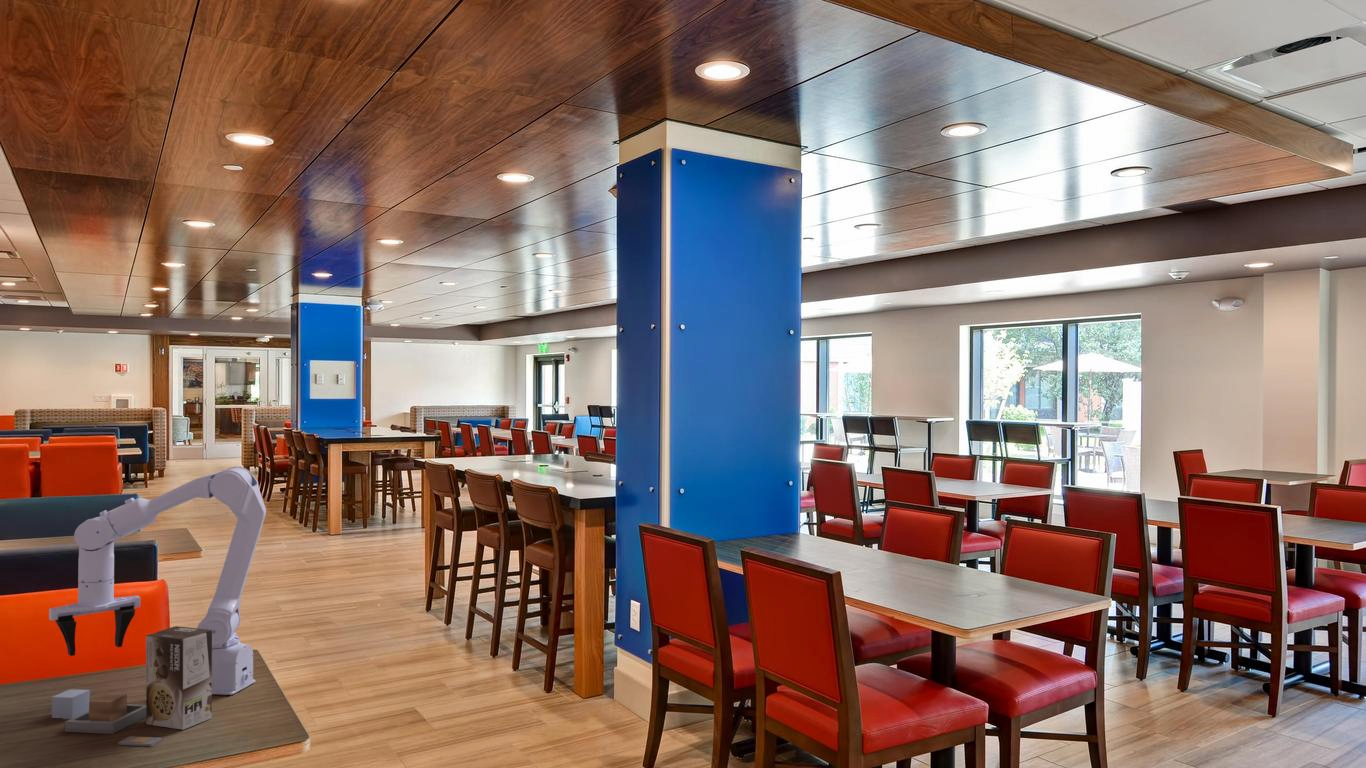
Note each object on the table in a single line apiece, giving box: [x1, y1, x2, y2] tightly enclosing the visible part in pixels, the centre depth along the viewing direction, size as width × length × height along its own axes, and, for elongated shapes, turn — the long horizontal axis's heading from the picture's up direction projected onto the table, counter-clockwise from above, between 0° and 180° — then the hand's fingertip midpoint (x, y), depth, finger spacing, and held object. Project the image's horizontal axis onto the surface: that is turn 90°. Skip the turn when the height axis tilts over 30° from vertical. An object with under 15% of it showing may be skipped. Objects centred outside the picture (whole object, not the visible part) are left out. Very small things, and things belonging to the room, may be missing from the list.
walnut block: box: [89, 693, 128, 722], centre depth 153 cm, size 4×4×4 cm
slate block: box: [51, 688, 91, 720], centre depth 157 cm, size 4×4×4 cm
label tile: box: [117, 735, 164, 747], centre depth 144 cm, size 6×3×1 cm, turn 84°
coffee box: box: [145, 625, 213, 731], centre depth 154 cm, size 9×6×16 cm
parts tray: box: [64, 703, 146, 735], centre depth 153 cm, size 9×9×2 cm
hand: (95, 650), depth 165 cm, fingers open, 7 cm apart
